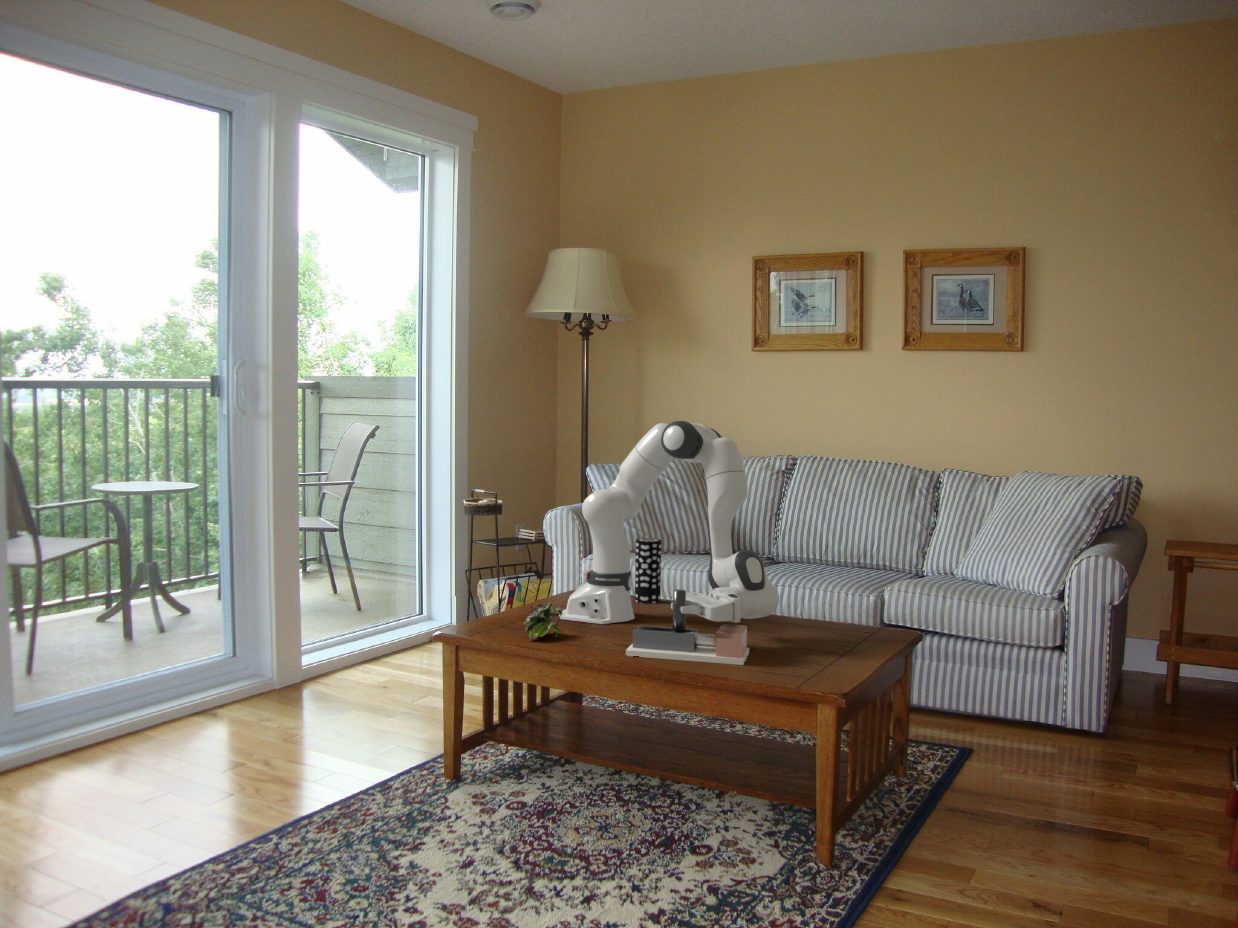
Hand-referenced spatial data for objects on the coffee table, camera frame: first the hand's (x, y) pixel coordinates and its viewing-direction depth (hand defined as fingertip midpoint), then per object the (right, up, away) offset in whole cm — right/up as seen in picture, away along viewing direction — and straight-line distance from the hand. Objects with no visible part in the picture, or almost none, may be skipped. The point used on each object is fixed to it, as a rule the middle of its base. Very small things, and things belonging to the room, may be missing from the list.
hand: (676, 608), depth 259 cm
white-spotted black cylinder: (-5, -8, +69) cm, 69 cm away
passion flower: (-35, -11, +17) cm, 41 cm away
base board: (+3, -12, +1) cm, 12 cm away
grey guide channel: (-3, -10, +2) cm, 11 cm away
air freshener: (-23, -8, +67) cm, 71 cm away
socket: (+14, -11, -2) cm, 18 cm away
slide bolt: (+6, -10, 0) cm, 12 cm away
